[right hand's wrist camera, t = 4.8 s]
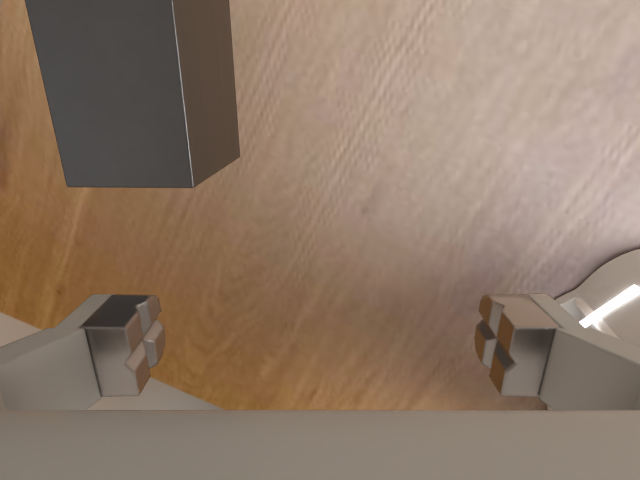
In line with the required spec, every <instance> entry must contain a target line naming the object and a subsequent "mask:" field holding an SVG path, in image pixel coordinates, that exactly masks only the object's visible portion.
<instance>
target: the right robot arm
mask: <svg viewBox="0 0 640 480" xmlns="http://www.w3.org/2000/svg"><path fill="white" fill-rule="evenodd" d="M160 312H161V307H160V302H159V299H158V298H157V296H156V295H130V294H116V295H115V294H95V295H91V296H90V297H89V298H88V299H86V300H85V301H84V302H83V303H82V304H81V305H80V306H79V307H77V308H76V309H75V310H74V311H73V312H72V313H71V314H70V315H68V316H67V317H66V318H65V319H64V320H63V321H62V322H61V323H60V324H58V325H57V326H56V327H55V328H47V329H44V330H42V331H39V332H37V333H34V334H32V335H29V336H27V337H24V338H22V339H19V340H17V341H14V342H12V343H9V344H7V345H4V346H2V347H0V480H640V249H637V250H633V251H630V252H628V253H625V254H622V255H620V256H618V257H616V258H614V259H612V260H611V261H609V262H607V263H606V264H604V265H603V266H601V267H600V268H599V269H597V270H596V271H595V272H594V273H593V274H592V275H590V276H589V277H588V278H587V279H586V280H585V281H584V282H583V283H582V284H581V285H580V286H579V287H578V288H576V289H575V290H573V291H571V292H569V293H567V294H565V295H563V296H561V297H559V298H557V299H555V300H554V299H553V298H551V297H550V296H549V295H546V294H511V295H485V296H483V297H482V299H481V301H480V306H479V312H480V314H481V315H482V317H483V318H484V319H483V320H482V321H481V322H480V323H479V324H478V325H477V326H476V331H475V347H476V351H477V355H478V357H479V359H480V361H481V363H482V364H484V365H485V366H487V367H488V368H490V369H491V370H490V375H489V376H490V378H491V380H492V381H493V383H494V385H495V386H496V388H497V390H498V391H499V393H500V395H501V396H524V397H539V399H540V400H541V401H543V402H544V403H545V404H547V410H87V409H88V408H89V407H91V406H92V405H93V404H95V403H96V402H97V401H99V400H100V399H101V397H116V396H139V395H140V393H141V391H142V390H143V388H144V386H145V385H146V383H147V381H148V379H149V378H150V370H149V369H150V368H152V367H153V366H155V365H156V364H158V363H159V361H160V359H161V357H162V355H163V351H164V347H165V331H164V326H163V325H162V324H161V323H160V322H159V321H158V320H157V319H156V318H157V317H158V315H159V314H160Z"/></svg>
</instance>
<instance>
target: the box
mask: <svg viewBox="0 0 640 480" xmlns="http://www.w3.org/2000/svg"><path fill="white" fill-rule="evenodd" d="M25 3H26V8H27V12H28V17H29V21H30V25H31V30H32V34H33V39H34V43H35V47H36V52H37V56H38V61H39V65H40V70H41V74H42V78H43V83H44V87H45V92H46V96H47V101H48V105H49V109H50V114H51V118H52V123H53V127H54V131H55V136H56V140H57V145H58V149H59V154H60V158H61V162H62V167H63V171H64V176H65V180H66V184H67V187H124V188H194V187H195V186H197V185H198V184H200V183H201V182H203V181H204V180H206V179H207V178H209V177H210V176H212V175H213V174H215V173H216V172H218V171H219V170H221V169H223V168H224V167H226V166H227V165H229V164H230V163H232V162H233V161H235V160H236V159H238V158H239V157H240V148H239V134H238V120H237V106H236V92H235V78H234V64H233V50H232V36H231V22H230V8H229V0H25Z"/></svg>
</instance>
